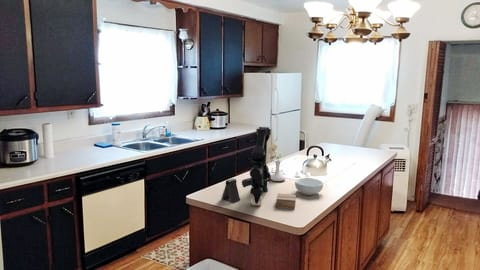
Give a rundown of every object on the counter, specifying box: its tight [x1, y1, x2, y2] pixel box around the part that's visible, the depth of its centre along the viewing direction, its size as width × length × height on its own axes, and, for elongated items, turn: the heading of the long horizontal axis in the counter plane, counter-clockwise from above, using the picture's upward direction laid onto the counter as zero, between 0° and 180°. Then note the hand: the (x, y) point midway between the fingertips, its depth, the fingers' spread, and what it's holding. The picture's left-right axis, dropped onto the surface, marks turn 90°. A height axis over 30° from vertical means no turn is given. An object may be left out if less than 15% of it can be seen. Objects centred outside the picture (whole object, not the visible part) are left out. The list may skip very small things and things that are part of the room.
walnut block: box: [275, 192, 297, 210], centre depth 205 cm, size 10×10×5 cm
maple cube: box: [251, 194, 263, 206], centre depth 205 cm, size 5×5×5 cm
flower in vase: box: [267, 143, 286, 182], centre depth 251 cm, size 13×11×25 cm
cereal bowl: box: [294, 177, 324, 196], centre depth 227 cm, size 17×17×7 cm
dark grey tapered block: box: [221, 178, 241, 204], centre depth 211 cm, size 9×6×12 cm, turn 50°
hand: (256, 201), depth 205 cm, fingers closed on maple cube, 5 cm apart
